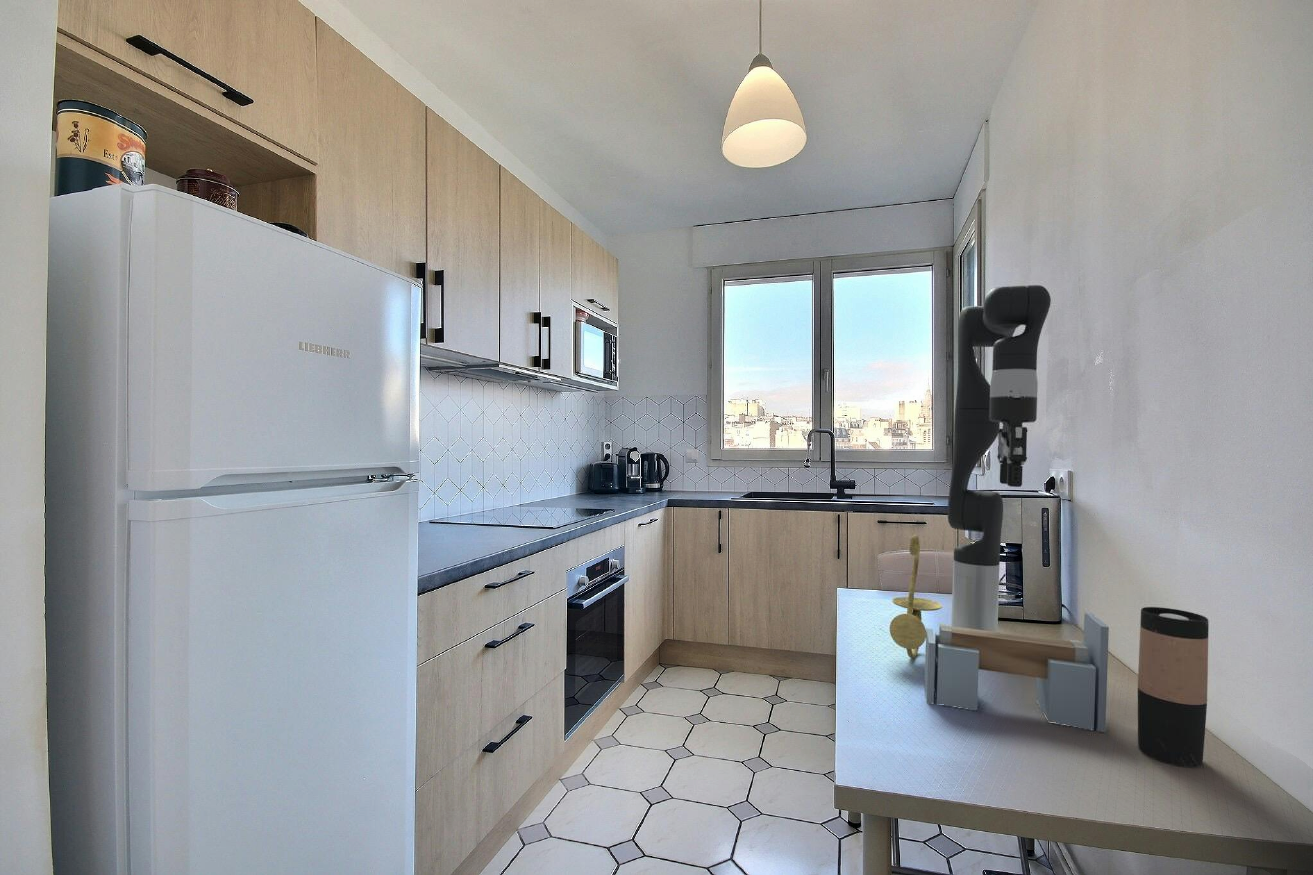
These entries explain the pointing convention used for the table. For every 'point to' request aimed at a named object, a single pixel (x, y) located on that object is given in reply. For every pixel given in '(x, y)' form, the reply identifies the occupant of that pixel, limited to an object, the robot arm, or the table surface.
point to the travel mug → (1172, 685)
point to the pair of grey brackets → (1062, 696)
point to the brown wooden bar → (1013, 650)
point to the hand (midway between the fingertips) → (1010, 485)
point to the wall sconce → (909, 626)
